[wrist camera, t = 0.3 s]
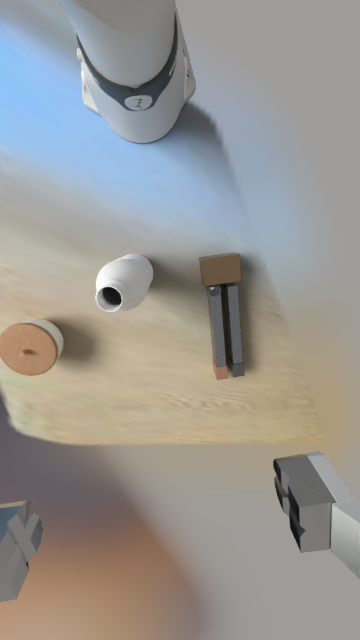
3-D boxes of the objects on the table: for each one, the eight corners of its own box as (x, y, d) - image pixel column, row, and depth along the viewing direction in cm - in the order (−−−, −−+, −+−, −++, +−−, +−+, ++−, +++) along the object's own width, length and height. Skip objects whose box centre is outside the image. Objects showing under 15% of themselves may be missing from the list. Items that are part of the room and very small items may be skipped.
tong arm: (205, 281, 53) (208, 284, 49) (217, 279, 53) (221, 282, 49) (213, 370, 59) (216, 379, 55) (224, 368, 59) (228, 378, 55)
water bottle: (150, 250, 51) (134, 261, 27) (156, 285, 53) (147, 324, 29) (115, 256, 51) (67, 271, 27) (123, 291, 53) (85, 334, 29)
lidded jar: (38, 365, 57) (14, 388, 48) (10, 324, 54) (-22, 341, 45) (80, 347, 56) (63, 367, 47) (54, 304, 53) (30, 317, 44)
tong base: (199, 257, 51) (202, 259, 47) (233, 252, 51) (239, 254, 47) (211, 370, 59) (214, 381, 55) (240, 366, 59) (246, 377, 55)
